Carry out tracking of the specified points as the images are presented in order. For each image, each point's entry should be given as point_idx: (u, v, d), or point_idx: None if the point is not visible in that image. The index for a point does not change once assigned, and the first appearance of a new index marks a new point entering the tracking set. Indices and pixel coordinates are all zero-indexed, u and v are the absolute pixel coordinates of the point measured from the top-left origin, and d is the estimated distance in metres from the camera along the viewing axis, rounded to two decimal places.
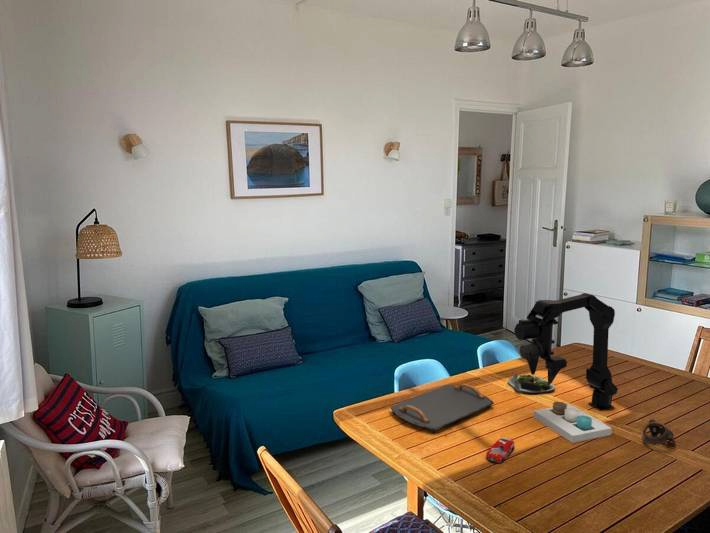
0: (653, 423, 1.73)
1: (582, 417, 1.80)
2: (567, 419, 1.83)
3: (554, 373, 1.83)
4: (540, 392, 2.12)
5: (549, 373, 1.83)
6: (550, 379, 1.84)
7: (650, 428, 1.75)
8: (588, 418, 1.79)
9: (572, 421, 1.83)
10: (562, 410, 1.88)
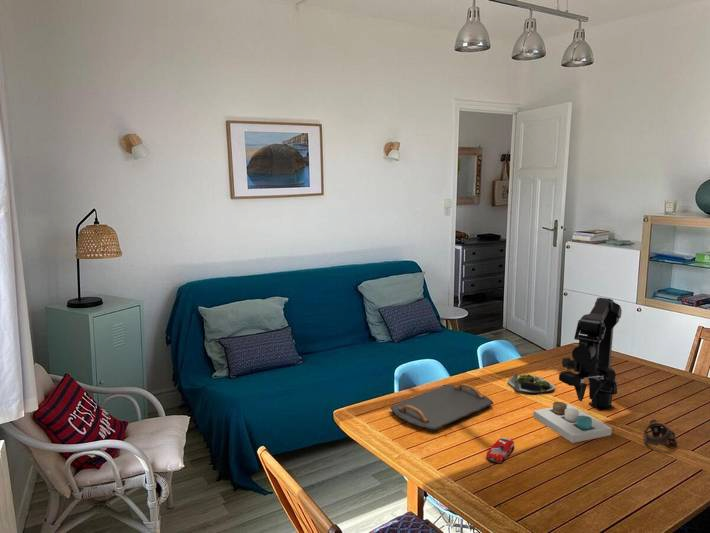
0: (655, 423, 1.73)
1: (582, 417, 1.80)
2: (567, 419, 1.83)
3: (579, 390, 1.75)
4: (540, 392, 2.12)
5: None
6: (578, 395, 1.77)
7: (651, 428, 1.75)
8: (588, 418, 1.79)
9: (572, 421, 1.83)
10: (562, 410, 1.88)
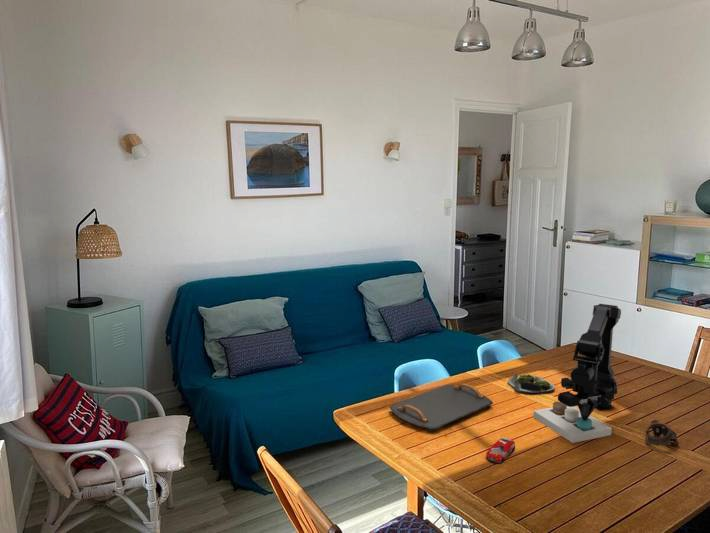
0: (656, 424, 1.72)
1: None
2: (567, 419, 1.83)
3: (583, 410, 1.77)
4: (540, 392, 2.12)
5: None
6: (581, 414, 1.79)
7: (653, 429, 1.75)
8: (588, 420, 1.79)
9: (572, 421, 1.83)
10: (562, 410, 1.88)
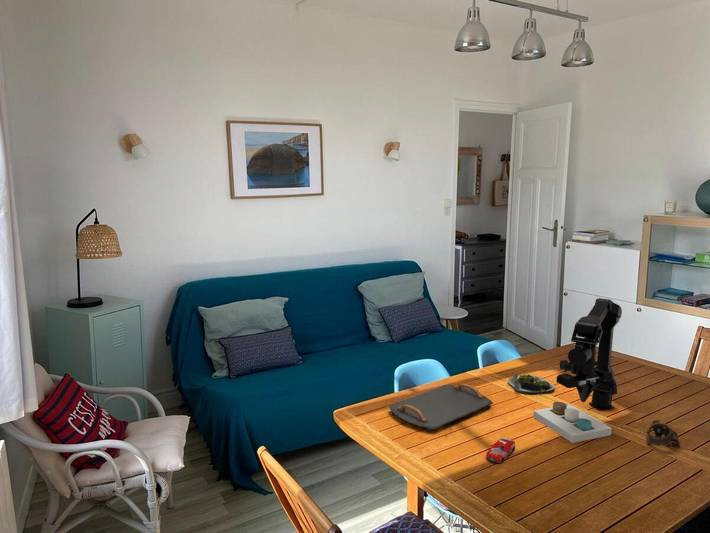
0: (657, 424, 1.72)
1: (582, 420, 1.80)
2: (567, 419, 1.83)
3: (581, 391, 1.77)
4: (540, 392, 2.12)
5: None
6: (580, 396, 1.79)
7: (654, 429, 1.75)
8: (588, 421, 1.79)
9: (572, 421, 1.83)
10: (562, 410, 1.88)
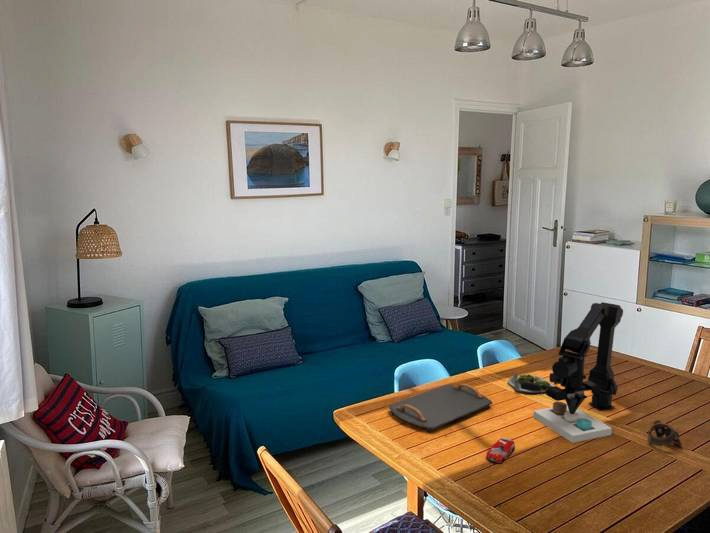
0: (659, 424, 1.72)
1: (582, 420, 1.80)
2: None
3: (570, 404, 1.83)
4: (540, 392, 2.12)
5: None
6: (569, 408, 1.84)
7: (655, 429, 1.75)
8: (588, 421, 1.79)
9: None
10: (562, 410, 1.88)
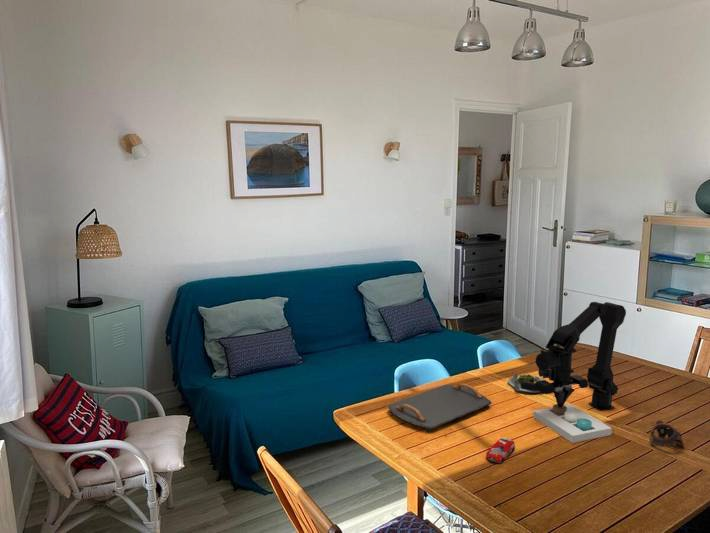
0: (661, 424, 1.72)
1: (582, 420, 1.80)
2: None
3: (558, 397, 1.88)
4: (540, 392, 2.12)
5: None
6: (557, 401, 1.90)
7: (658, 429, 1.75)
8: (588, 421, 1.79)
9: None
10: (562, 413, 1.88)
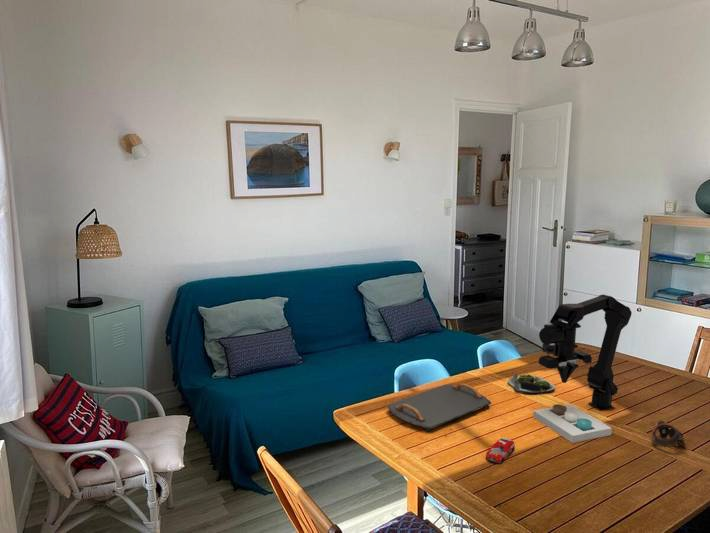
0: (663, 425, 1.72)
1: (582, 420, 1.80)
2: None
3: (562, 372, 1.88)
4: (540, 392, 2.12)
5: None
6: (561, 377, 1.90)
7: (659, 430, 1.74)
8: (588, 421, 1.79)
9: None
10: (562, 413, 1.88)
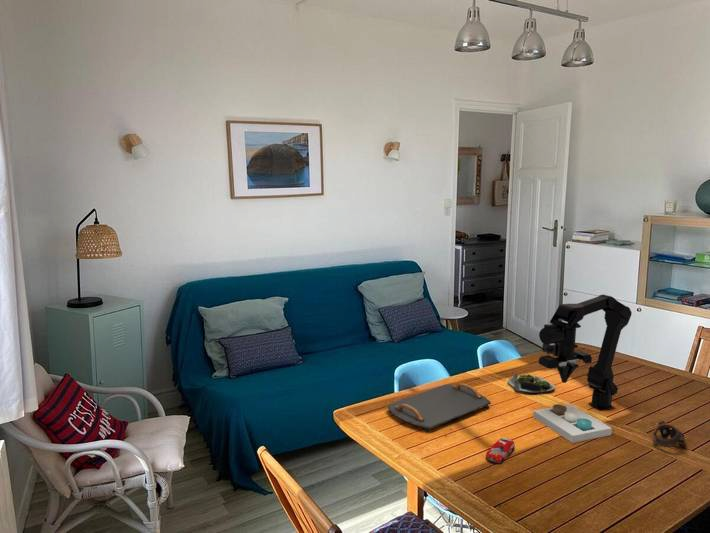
0: (664, 425, 1.71)
1: (582, 420, 1.80)
2: None
3: (562, 372, 1.88)
4: (540, 392, 2.12)
5: None
6: (561, 377, 1.90)
7: (660, 430, 1.74)
8: (588, 421, 1.79)
9: None
10: (562, 413, 1.88)
